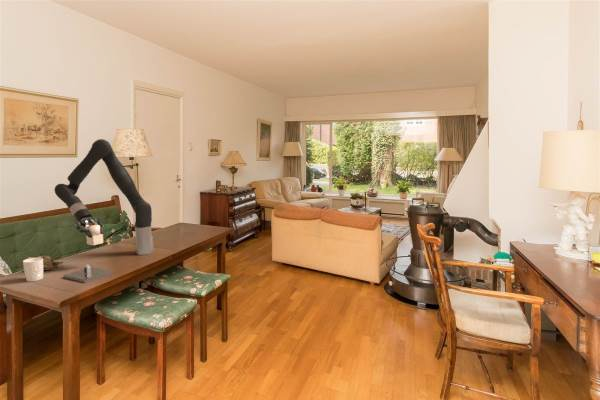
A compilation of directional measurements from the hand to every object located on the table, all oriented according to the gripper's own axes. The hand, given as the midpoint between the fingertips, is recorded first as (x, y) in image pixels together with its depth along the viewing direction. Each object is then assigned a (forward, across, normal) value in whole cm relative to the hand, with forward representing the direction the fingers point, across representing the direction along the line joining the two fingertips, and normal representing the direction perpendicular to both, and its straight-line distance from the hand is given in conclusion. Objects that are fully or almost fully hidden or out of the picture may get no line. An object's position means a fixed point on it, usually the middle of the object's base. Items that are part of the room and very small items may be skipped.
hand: (96, 235), depth 184 cm
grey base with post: (+18, -12, +7) cm, 23 cm away
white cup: (+5, -26, +20) cm, 33 cm away
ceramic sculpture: (-3, -15, +29) cm, 33 cm away
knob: (+2, 0, +5) cm, 5 cm away
